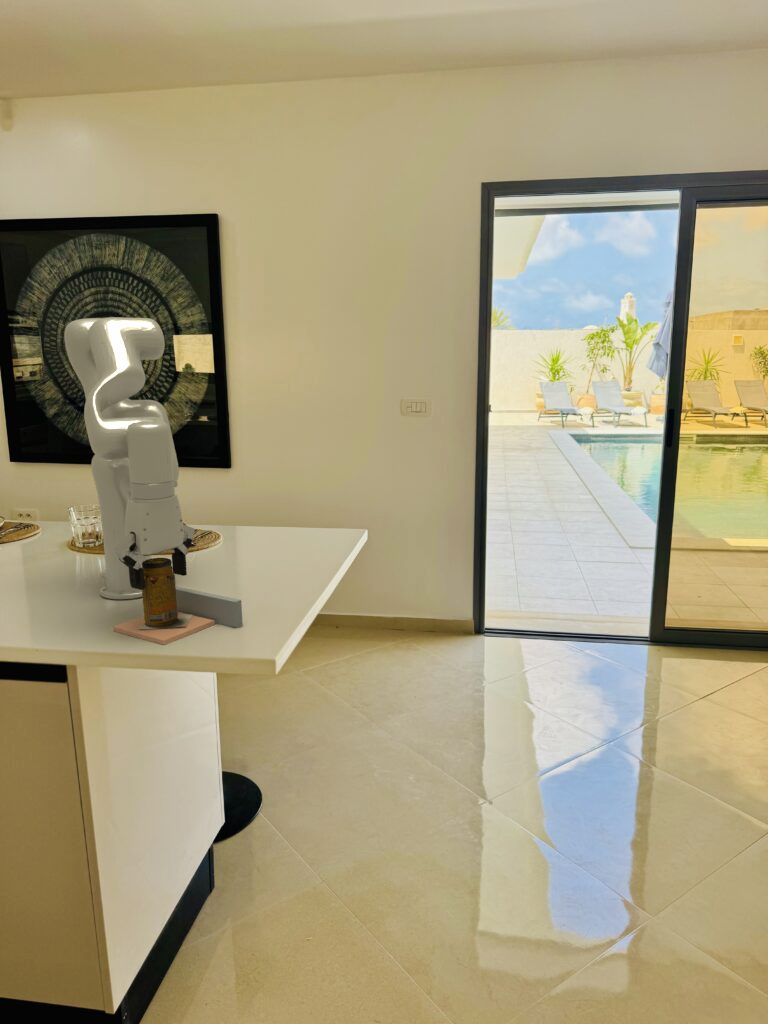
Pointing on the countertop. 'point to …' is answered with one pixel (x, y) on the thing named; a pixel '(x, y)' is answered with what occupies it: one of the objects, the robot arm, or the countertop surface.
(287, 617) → the countertop surface
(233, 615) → the low wall
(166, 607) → the condiment
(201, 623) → the tile pad
